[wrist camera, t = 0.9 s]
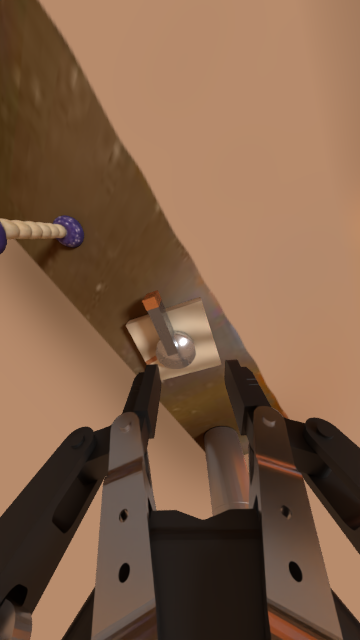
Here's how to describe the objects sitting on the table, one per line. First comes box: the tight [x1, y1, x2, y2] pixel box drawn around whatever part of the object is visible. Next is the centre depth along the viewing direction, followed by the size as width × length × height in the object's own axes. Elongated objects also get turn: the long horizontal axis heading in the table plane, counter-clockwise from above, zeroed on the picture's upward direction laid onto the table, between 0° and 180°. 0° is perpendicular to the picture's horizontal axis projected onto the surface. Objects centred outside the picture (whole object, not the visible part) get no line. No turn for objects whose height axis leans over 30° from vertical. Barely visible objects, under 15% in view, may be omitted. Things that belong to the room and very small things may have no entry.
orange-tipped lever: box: [142, 290, 196, 369], centre depth 28 cm, size 15×7×4 cm, turn 19°
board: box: [126, 297, 221, 380], centre depth 32 cm, size 14×14×2 cm
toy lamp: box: [0, 216, 84, 254], centre depth 18 cm, size 5×5×17 cm
